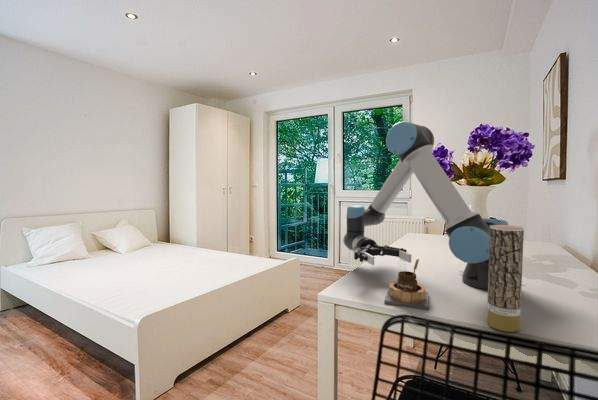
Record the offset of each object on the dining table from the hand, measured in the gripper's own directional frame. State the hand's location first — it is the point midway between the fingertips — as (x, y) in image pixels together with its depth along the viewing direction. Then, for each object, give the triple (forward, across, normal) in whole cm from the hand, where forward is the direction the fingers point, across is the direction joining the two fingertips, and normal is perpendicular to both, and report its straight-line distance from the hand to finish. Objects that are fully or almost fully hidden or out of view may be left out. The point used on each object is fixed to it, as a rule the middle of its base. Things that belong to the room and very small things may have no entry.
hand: (392, 259), depth 102 cm
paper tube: (+30, -13, -10) cm, 35 cm away
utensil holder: (+9, 0, -9) cm, 13 cm away
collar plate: (+9, 0, -10) cm, 14 cm away
